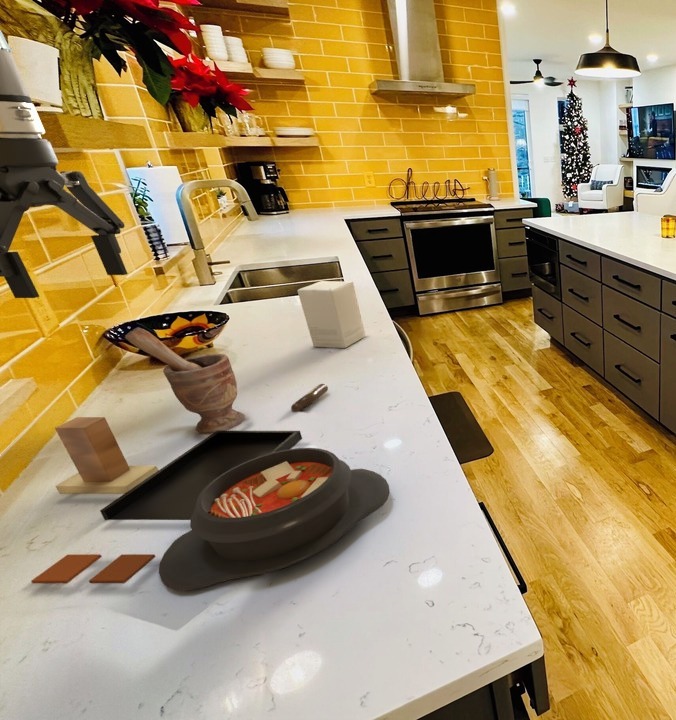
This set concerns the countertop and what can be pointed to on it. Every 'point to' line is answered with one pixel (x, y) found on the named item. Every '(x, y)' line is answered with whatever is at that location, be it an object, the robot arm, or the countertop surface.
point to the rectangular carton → (332, 313)
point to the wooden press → (97, 459)
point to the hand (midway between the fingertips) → (76, 285)
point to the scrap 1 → (66, 568)
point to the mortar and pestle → (197, 382)
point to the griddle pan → (201, 470)
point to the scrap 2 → (122, 568)
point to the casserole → (270, 516)
